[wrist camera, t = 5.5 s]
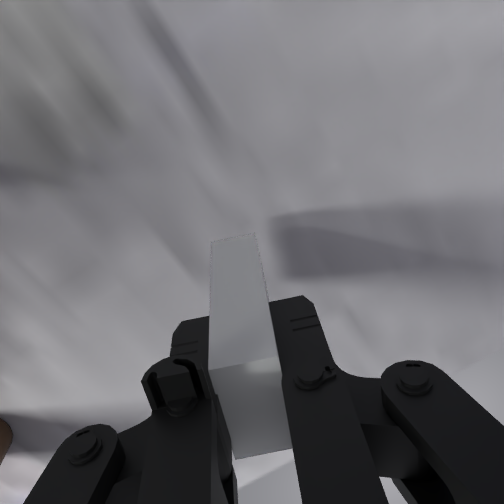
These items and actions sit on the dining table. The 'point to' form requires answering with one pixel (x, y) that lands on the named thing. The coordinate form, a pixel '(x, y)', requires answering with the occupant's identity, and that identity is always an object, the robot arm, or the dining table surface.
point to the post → (4, 439)
